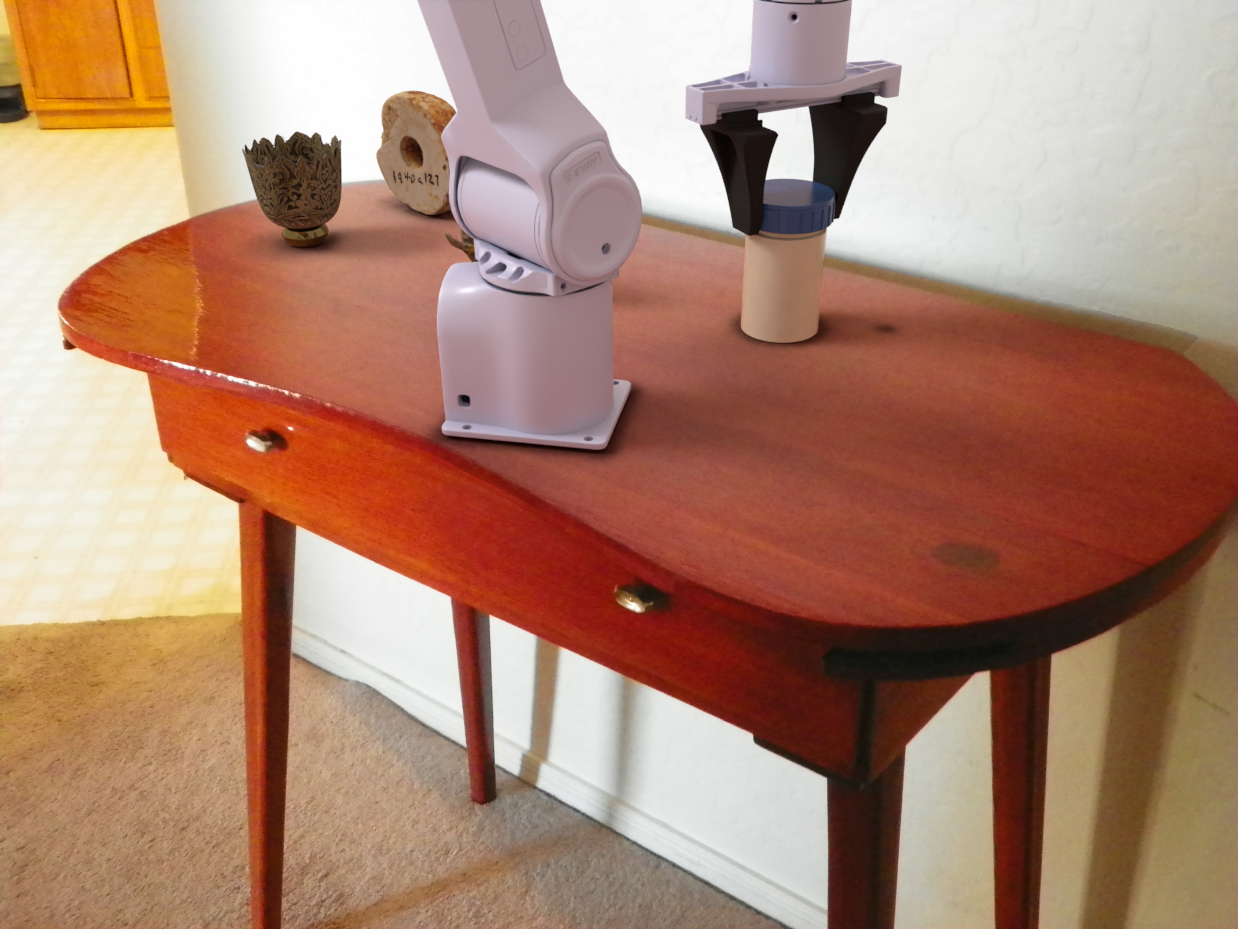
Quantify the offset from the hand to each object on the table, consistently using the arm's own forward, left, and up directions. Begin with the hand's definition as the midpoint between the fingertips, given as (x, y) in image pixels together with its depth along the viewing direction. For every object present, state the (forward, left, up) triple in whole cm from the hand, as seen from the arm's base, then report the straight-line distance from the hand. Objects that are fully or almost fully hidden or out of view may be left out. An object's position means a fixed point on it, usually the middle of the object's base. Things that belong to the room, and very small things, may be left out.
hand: (787, 222), depth 73 cm
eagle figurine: (-19, +4, -8) cm, 21 cm away
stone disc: (-32, +20, -8) cm, 38 cm away
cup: (-39, +10, -8) cm, 41 cm away
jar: (0, 0, -7) cm, 7 cm away
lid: (0, 0, +2) cm, 2 cm away
